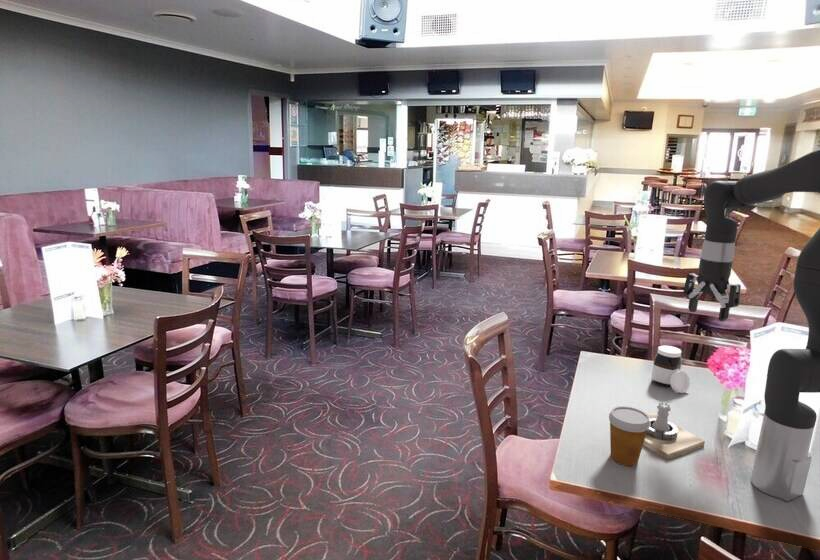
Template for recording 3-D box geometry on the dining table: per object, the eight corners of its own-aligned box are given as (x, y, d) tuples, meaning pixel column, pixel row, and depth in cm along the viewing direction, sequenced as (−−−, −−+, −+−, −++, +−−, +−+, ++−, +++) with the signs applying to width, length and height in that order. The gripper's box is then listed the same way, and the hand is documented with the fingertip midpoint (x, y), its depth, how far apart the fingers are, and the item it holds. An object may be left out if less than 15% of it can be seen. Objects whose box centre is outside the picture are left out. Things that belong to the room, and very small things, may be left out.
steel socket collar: (683, 436, 141) (684, 429, 140) (662, 443, 137) (663, 437, 136) (657, 421, 148) (658, 415, 147) (636, 428, 144) (637, 422, 143)
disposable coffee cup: (647, 455, 134) (653, 411, 131) (641, 474, 126) (648, 429, 123) (607, 444, 139) (613, 401, 136) (599, 462, 131) (605, 417, 128)
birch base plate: (704, 446, 139) (704, 440, 138) (667, 459, 133) (668, 454, 132) (651, 417, 153) (652, 412, 152) (616, 428, 146) (616, 423, 146)
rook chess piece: (671, 437, 140) (675, 409, 138) (653, 435, 140) (657, 407, 138) (667, 429, 144) (671, 401, 142) (649, 427, 145) (653, 399, 143)
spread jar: (657, 374, 181) (662, 342, 178) (693, 384, 174) (699, 351, 171) (645, 386, 172) (650, 352, 169) (683, 397, 165) (689, 362, 162)
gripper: (752, 262, 138) (741, 322, 142) (701, 251, 150) (692, 307, 154) (734, 264, 134) (723, 326, 139) (683, 253, 147) (674, 310, 151)
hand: (706, 315), depth 146 cm, fingers open, 8 cm apart
